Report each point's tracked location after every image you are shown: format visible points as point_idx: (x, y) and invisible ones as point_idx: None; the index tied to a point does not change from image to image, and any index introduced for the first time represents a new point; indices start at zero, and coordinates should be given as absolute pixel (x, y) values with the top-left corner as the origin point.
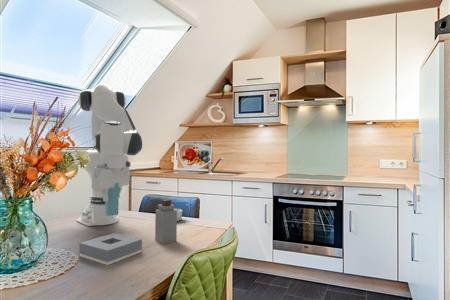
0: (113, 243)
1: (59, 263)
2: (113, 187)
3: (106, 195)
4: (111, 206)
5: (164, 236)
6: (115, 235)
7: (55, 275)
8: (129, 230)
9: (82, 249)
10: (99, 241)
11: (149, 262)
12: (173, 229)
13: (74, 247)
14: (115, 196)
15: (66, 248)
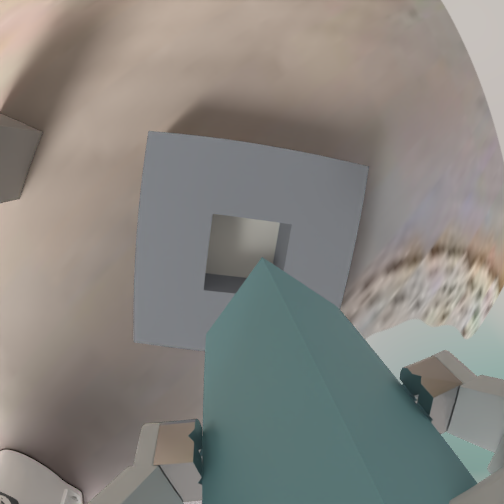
0: (276, 216)
1: (381, 327)
2: (473, 494)
3: (497, 383)
4: (341, 327)
5: (19, 126)
6: (163, 308)
7: (446, 256)
8: (8, 375)
9: None
10: None
11: (253, 36)
12: None
13: None
14: (351, 379)
15: None
